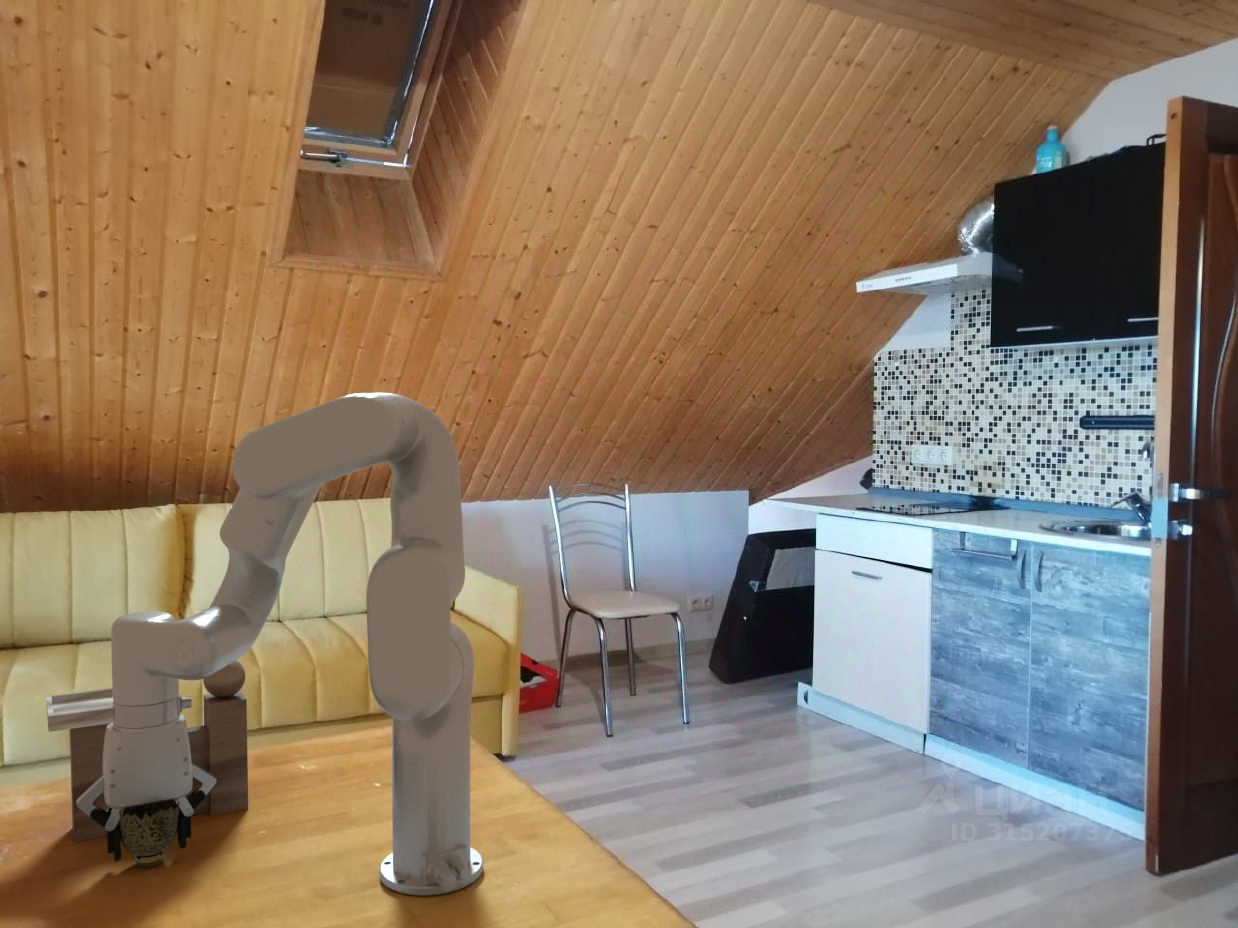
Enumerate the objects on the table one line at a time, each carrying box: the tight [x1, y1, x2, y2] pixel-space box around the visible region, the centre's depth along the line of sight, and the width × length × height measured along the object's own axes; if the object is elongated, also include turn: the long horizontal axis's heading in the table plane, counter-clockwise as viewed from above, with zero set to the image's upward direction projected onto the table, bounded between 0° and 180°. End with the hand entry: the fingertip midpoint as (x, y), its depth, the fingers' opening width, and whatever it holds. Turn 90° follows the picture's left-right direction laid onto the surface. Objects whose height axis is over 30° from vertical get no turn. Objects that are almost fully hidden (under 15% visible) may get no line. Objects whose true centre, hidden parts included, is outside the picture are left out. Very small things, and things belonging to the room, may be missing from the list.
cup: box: [118, 799, 180, 868], centre depth 129 cm, size 8×7×8 cm
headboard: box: [45, 660, 249, 843], centre depth 141 cm, size 10×25×22 cm, turn 120°
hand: (149, 849), depth 129 cm, fingers closed on cup, 6 cm apart
